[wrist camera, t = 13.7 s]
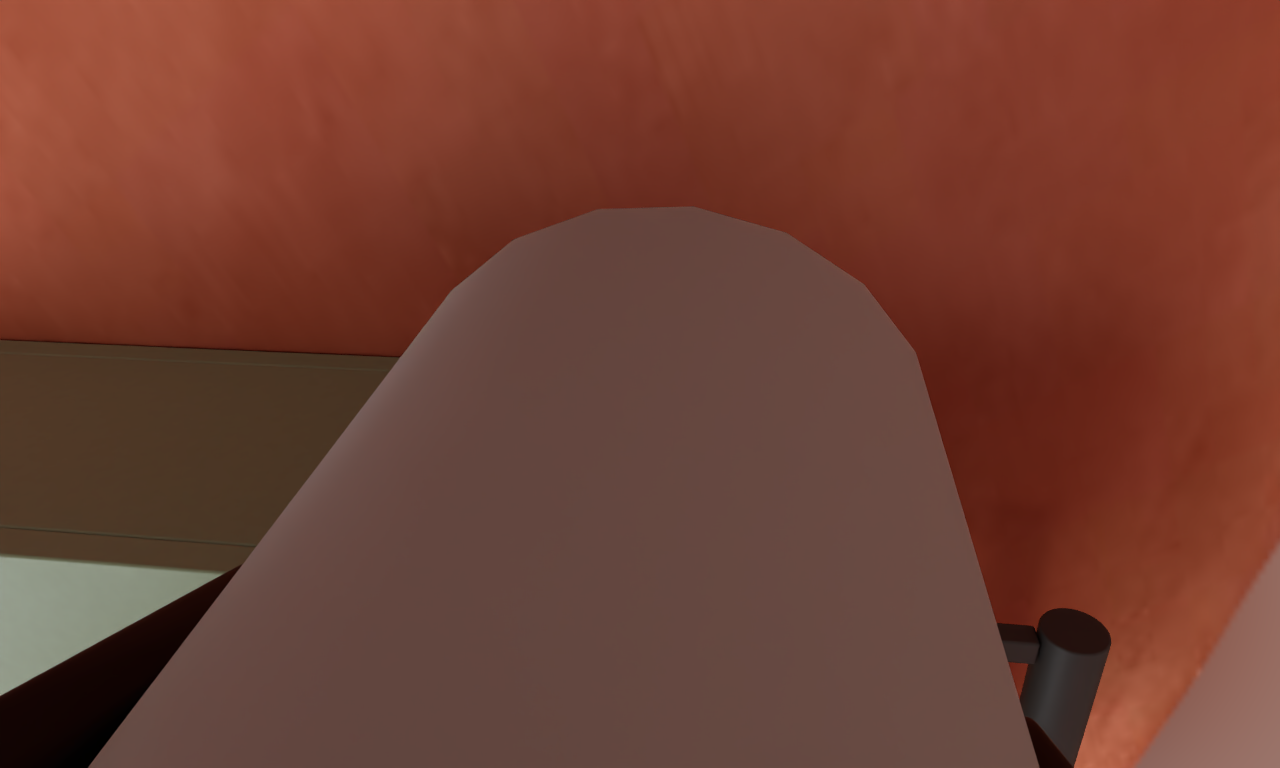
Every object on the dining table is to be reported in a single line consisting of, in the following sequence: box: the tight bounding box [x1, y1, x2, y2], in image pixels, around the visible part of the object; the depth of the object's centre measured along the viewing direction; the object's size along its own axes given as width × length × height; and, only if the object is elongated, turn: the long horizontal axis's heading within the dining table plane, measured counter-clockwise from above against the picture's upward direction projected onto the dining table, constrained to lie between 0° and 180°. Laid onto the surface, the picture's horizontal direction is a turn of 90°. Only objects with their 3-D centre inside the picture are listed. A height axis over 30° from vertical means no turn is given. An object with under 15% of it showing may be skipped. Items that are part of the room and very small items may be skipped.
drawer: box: [997, 608, 1111, 767], centre depth 22 cm, size 19×13×7 cm
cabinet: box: [0, 340, 400, 696], centre depth 24 cm, size 16×15×9 cm
